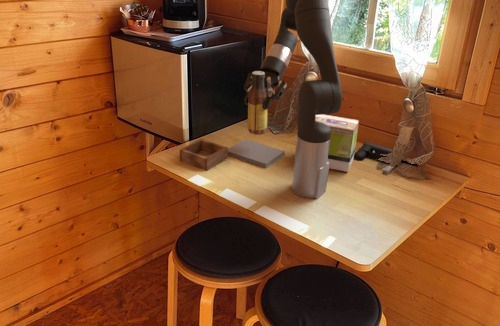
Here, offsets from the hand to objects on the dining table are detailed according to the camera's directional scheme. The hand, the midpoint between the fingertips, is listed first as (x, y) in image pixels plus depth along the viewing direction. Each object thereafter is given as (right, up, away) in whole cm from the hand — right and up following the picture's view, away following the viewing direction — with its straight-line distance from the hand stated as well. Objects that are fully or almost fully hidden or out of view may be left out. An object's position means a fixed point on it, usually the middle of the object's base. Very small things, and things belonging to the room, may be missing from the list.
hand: (255, 106), depth 153 cm
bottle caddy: (-17, -17, +4) cm, 24 cm away
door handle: (+43, -18, +9) cm, 48 cm away
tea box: (+24, -18, +7) cm, 31 cm away
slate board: (0, -15, +9) cm, 18 cm away
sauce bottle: (0, -8, +6) cm, 10 cm away
